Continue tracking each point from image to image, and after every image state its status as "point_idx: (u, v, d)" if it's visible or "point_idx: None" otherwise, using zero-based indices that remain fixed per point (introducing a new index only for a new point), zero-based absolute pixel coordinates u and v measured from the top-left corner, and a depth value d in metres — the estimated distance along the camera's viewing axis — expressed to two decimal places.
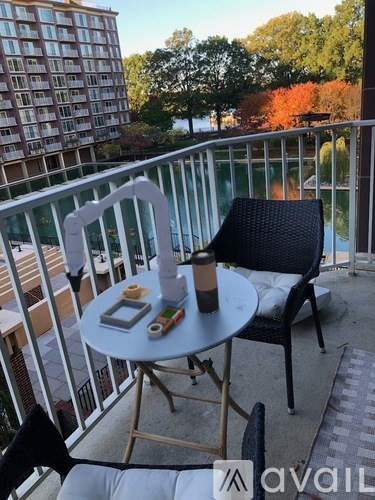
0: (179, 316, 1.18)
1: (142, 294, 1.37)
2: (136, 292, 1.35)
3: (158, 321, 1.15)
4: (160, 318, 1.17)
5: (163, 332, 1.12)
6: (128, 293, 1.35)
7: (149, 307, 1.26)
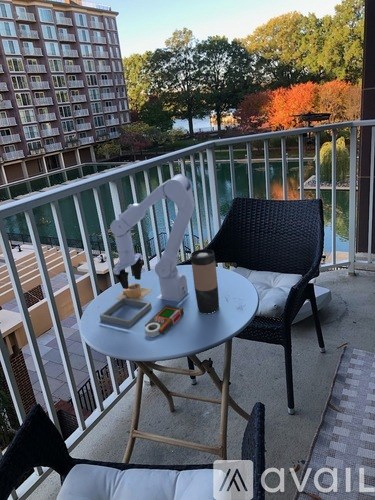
0: (177, 316, 1.18)
1: (142, 294, 1.37)
2: (136, 292, 1.35)
3: (156, 320, 1.16)
4: (158, 317, 1.17)
5: (160, 331, 1.12)
6: (128, 293, 1.35)
7: (149, 307, 1.26)
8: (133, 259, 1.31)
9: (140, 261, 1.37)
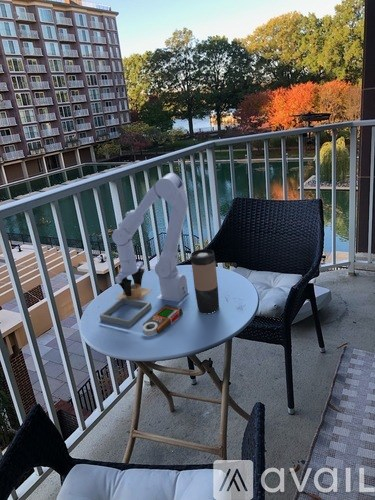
0: (175, 316, 1.18)
1: (142, 294, 1.37)
2: (136, 292, 1.35)
3: (154, 320, 1.17)
4: (156, 317, 1.18)
5: (158, 331, 1.13)
6: None
7: (149, 307, 1.26)
8: (135, 267, 1.32)
9: (142, 269, 1.38)
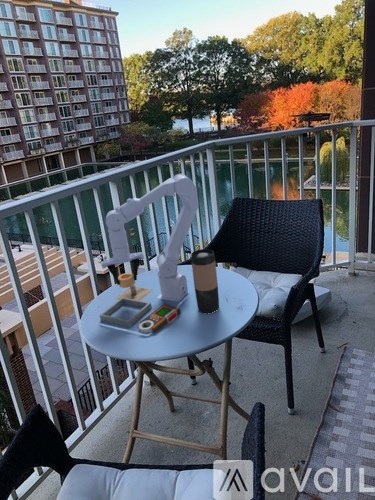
0: (173, 315, 1.19)
1: (142, 294, 1.37)
2: (124, 283, 1.27)
3: (151, 318, 1.18)
4: (154, 315, 1.19)
5: (153, 330, 1.13)
6: None
7: (149, 307, 1.26)
8: (123, 257, 1.23)
9: (138, 261, 1.26)
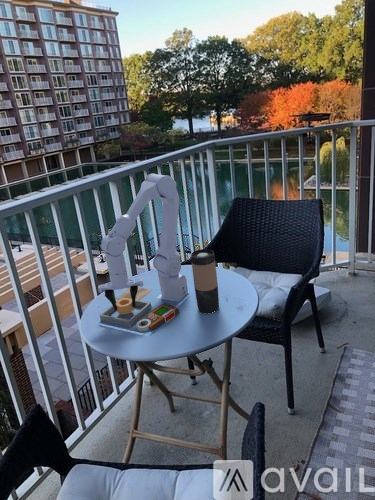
0: (171, 315, 1.19)
1: (142, 294, 1.37)
2: (120, 309, 1.22)
3: (149, 317, 1.18)
4: (152, 314, 1.20)
5: (150, 328, 1.14)
6: None
7: (149, 307, 1.26)
8: (119, 284, 1.18)
9: (135, 289, 1.20)
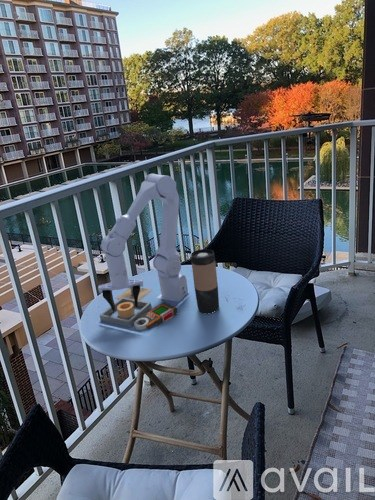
0: (169, 314, 1.19)
1: (142, 294, 1.37)
2: (121, 313, 1.22)
3: (147, 316, 1.19)
4: (150, 313, 1.20)
5: (147, 327, 1.15)
6: None
7: (149, 307, 1.26)
8: (119, 284, 1.18)
9: (135, 289, 1.20)
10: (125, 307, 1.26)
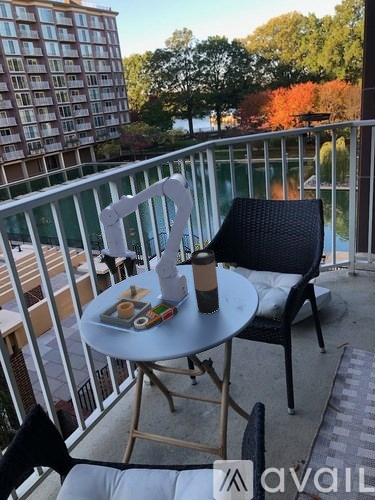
0: (168, 314, 1.20)
1: (142, 294, 1.37)
2: (121, 313, 1.22)
3: (147, 315, 1.20)
4: (150, 313, 1.21)
5: (147, 327, 1.15)
6: None
7: (149, 307, 1.26)
8: (112, 252, 1.28)
9: (126, 260, 1.28)
10: (125, 307, 1.26)
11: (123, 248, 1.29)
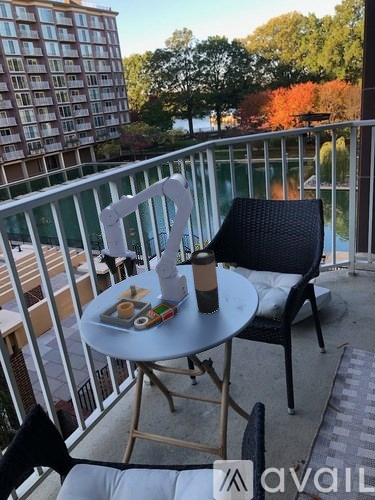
0: (169, 314, 1.20)
1: (142, 294, 1.37)
2: (121, 313, 1.22)
3: (147, 315, 1.20)
4: (151, 312, 1.21)
5: (147, 326, 1.15)
6: None
7: (149, 307, 1.26)
8: (112, 252, 1.28)
9: (126, 260, 1.28)
10: (125, 307, 1.26)
11: (123, 248, 1.29)
